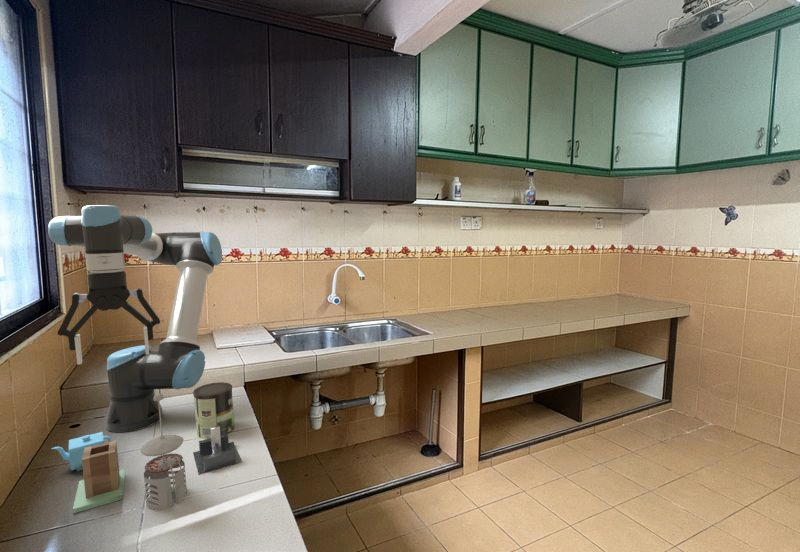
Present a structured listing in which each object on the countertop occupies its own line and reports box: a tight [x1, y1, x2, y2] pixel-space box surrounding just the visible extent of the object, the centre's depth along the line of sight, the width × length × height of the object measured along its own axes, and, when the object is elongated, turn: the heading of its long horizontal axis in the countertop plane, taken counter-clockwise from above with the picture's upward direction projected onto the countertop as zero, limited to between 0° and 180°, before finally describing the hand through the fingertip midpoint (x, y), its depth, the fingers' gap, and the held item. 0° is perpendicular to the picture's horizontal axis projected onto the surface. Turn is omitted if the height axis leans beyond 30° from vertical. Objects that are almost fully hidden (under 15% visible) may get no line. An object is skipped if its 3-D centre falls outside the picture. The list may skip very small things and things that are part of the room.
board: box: [72, 468, 126, 514], centre depth 96 cm, size 12×10×1 cm
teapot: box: [51, 431, 112, 472], centre depth 106 cm, size 12×6×8 cm, turn 128°
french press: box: [139, 393, 188, 510], centre depth 89 cm, size 10×12×25 cm
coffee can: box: [192, 381, 235, 440], centre depth 121 cm, size 10×10×14 cm
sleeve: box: [82, 440, 120, 498], centre depth 95 cm, size 6×6×9 cm
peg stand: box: [192, 425, 243, 476], centre depth 106 cm, size 12×10×10 cm
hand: (114, 357), depth 102 cm, fingers open, 13 cm apart
